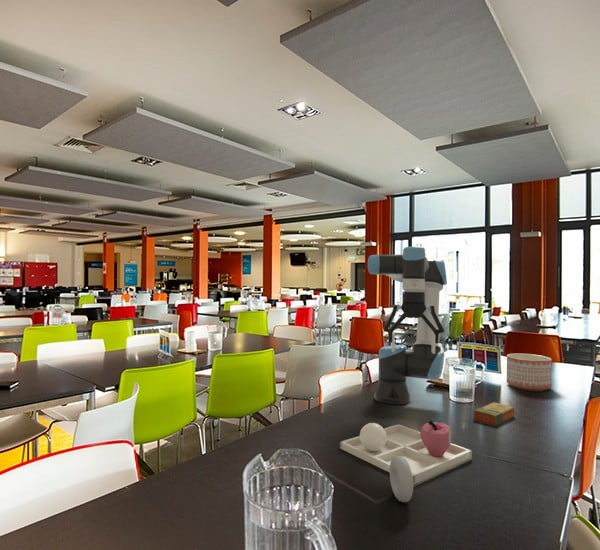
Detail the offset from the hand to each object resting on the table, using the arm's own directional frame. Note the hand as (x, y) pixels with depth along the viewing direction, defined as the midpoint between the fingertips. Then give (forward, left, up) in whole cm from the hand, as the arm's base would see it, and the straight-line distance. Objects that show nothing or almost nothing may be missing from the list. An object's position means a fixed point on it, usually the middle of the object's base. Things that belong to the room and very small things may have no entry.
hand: (413, 352), depth 145 cm
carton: (+10, +35, -27) cm, 45 cm away
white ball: (+6, -26, -26) cm, 37 cm away
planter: (-4, +94, -27) cm, 98 cm away
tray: (+12, -19, -27) cm, 35 cm away
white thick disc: (+28, -40, -27) cm, 56 cm away
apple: (+18, -13, -26) cm, 34 cm away
